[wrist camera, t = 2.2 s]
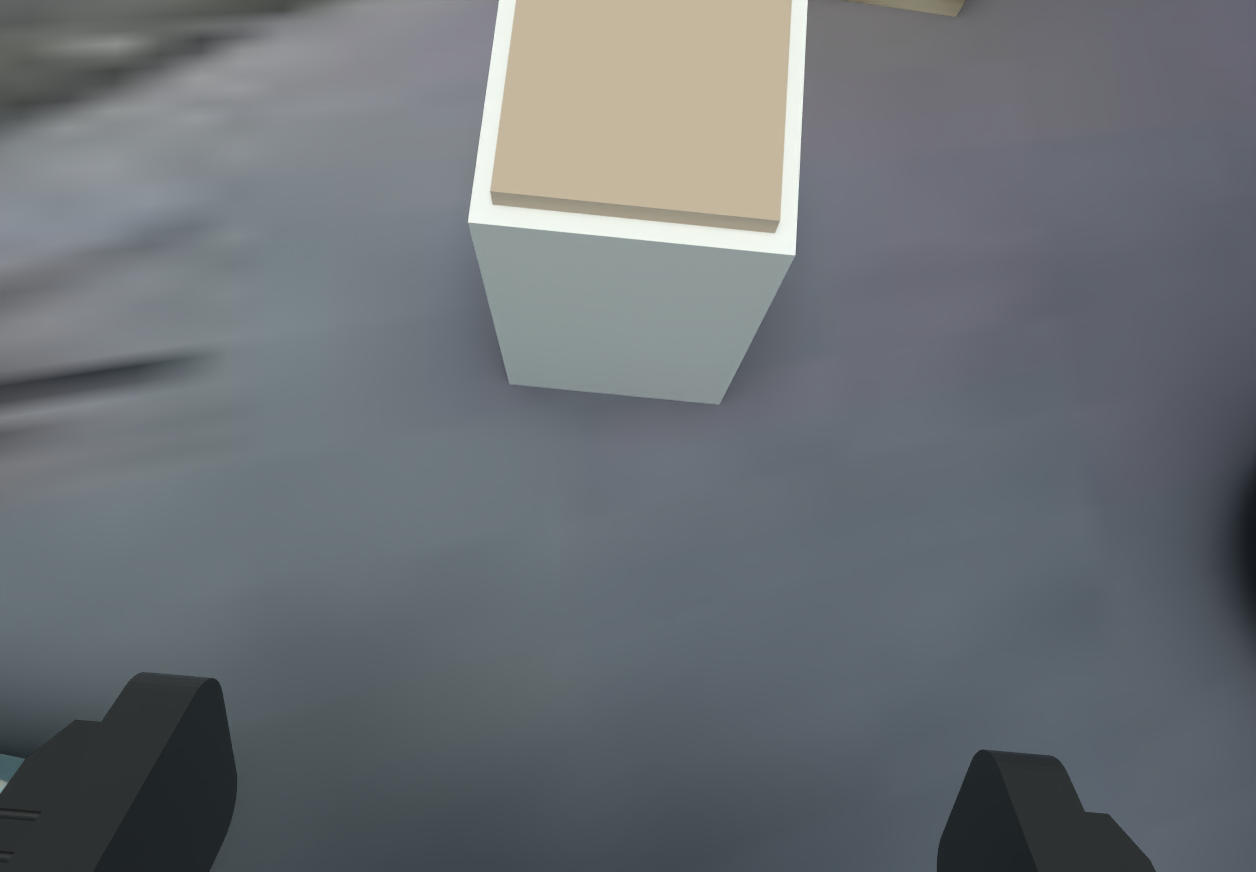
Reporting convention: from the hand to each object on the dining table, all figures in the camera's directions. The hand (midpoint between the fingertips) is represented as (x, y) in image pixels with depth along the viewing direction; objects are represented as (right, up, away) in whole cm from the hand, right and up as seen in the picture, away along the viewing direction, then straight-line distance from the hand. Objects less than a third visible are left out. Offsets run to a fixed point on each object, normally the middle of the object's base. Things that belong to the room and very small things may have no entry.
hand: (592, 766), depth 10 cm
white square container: (0, +8, +18) cm, 19 cm away
